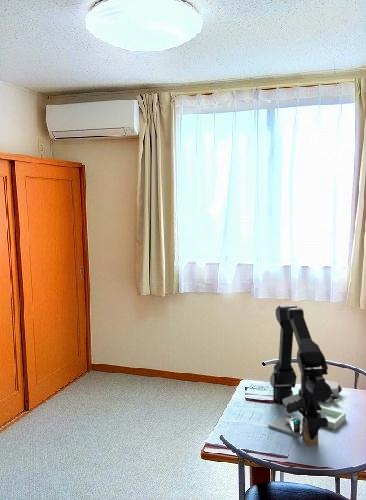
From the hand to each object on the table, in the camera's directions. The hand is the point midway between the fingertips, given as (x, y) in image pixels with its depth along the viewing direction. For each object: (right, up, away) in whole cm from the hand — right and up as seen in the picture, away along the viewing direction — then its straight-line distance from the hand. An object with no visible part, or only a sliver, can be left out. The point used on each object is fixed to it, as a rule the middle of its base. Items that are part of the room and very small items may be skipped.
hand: (310, 435), depth 147 cm
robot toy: (+15, +1, +34) cm, 38 cm away
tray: (+10, -1, +14) cm, 17 cm away
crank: (-4, -1, +7) cm, 8 cm away
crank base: (-4, -1, +11) cm, 12 cm away
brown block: (0, -2, 0) cm, 2 cm away
